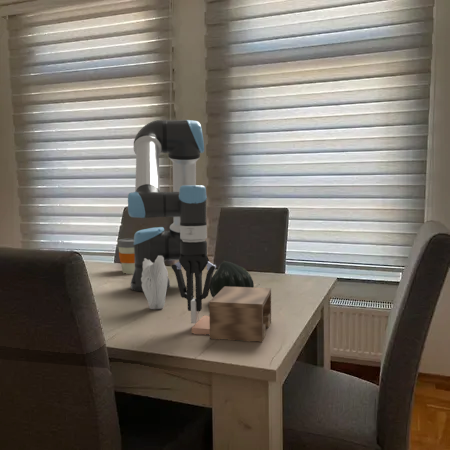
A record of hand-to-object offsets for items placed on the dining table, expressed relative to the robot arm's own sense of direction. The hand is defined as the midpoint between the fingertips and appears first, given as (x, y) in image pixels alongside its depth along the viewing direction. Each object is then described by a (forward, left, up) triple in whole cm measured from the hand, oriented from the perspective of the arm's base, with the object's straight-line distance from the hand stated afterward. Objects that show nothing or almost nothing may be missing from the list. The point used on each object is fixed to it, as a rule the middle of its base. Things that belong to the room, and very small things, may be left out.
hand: (194, 321), depth 133 cm
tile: (+10, 0, -2) cm, 10 cm away
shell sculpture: (-18, +16, -2) cm, 24 cm away
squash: (+5, +28, -2) cm, 29 cm away
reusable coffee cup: (-51, +72, -2) cm, 88 cm away
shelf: (+14, 0, -1) cm, 14 cm away
